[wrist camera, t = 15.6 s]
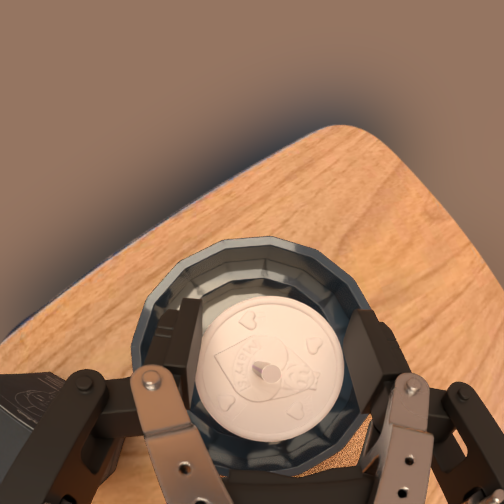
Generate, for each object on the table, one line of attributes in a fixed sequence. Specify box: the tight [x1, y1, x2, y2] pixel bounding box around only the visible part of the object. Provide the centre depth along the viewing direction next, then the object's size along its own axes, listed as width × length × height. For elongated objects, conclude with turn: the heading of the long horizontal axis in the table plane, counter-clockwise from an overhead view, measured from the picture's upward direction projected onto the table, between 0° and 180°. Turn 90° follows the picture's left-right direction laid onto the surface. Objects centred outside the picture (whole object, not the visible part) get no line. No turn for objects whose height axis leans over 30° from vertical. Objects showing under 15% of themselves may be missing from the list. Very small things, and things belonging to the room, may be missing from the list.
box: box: [0, 372, 125, 486], centre depth 14 cm, size 8×6×11 cm
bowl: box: [131, 236, 372, 477], centre depth 19 cm, size 14×14×6 cm
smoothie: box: [195, 296, 344, 442], centre depth 15 cm, size 6×6×14 cm
